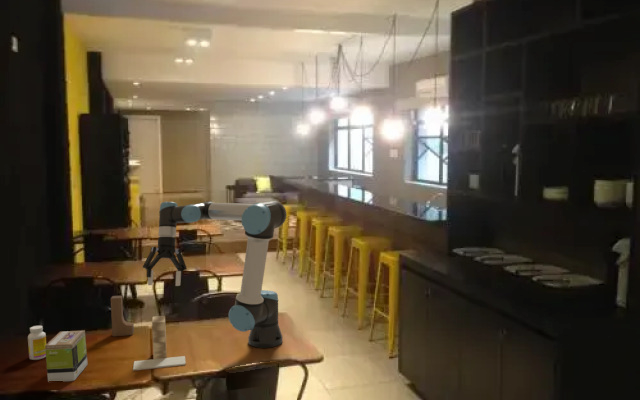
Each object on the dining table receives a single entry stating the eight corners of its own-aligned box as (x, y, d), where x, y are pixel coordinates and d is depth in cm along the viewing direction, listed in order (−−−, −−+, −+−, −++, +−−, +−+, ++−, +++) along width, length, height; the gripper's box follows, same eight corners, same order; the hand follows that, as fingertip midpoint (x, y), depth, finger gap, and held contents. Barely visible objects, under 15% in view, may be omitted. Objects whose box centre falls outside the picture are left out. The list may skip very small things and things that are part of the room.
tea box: (62, 366, 219) (60, 330, 217) (88, 365, 219) (86, 329, 218) (46, 382, 204) (44, 344, 202) (74, 381, 205) (72, 343, 203)
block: (166, 352, 233) (165, 315, 231) (166, 359, 225) (164, 321, 223) (154, 353, 231) (152, 316, 230) (153, 360, 224) (152, 322, 222)
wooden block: (134, 332, 258) (132, 294, 256) (132, 335, 253) (131, 297, 251) (113, 333, 256) (112, 295, 254) (112, 336, 251) (110, 298, 249)
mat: (185, 357, 227) (185, 355, 227) (185, 364, 219) (185, 363, 219) (134, 362, 222) (134, 361, 222) (133, 370, 214) (132, 369, 214)
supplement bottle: (50, 355, 230) (48, 325, 228) (38, 361, 224) (36, 330, 222) (38, 353, 232) (36, 324, 231) (25, 359, 226) (23, 329, 224)
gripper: (186, 239, 254) (184, 286, 250) (136, 235, 236) (133, 285, 232) (195, 238, 249) (193, 286, 245) (145, 234, 231) (142, 284, 227)
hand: (164, 285), depth 238 cm, fingers open, 13 cm apart
